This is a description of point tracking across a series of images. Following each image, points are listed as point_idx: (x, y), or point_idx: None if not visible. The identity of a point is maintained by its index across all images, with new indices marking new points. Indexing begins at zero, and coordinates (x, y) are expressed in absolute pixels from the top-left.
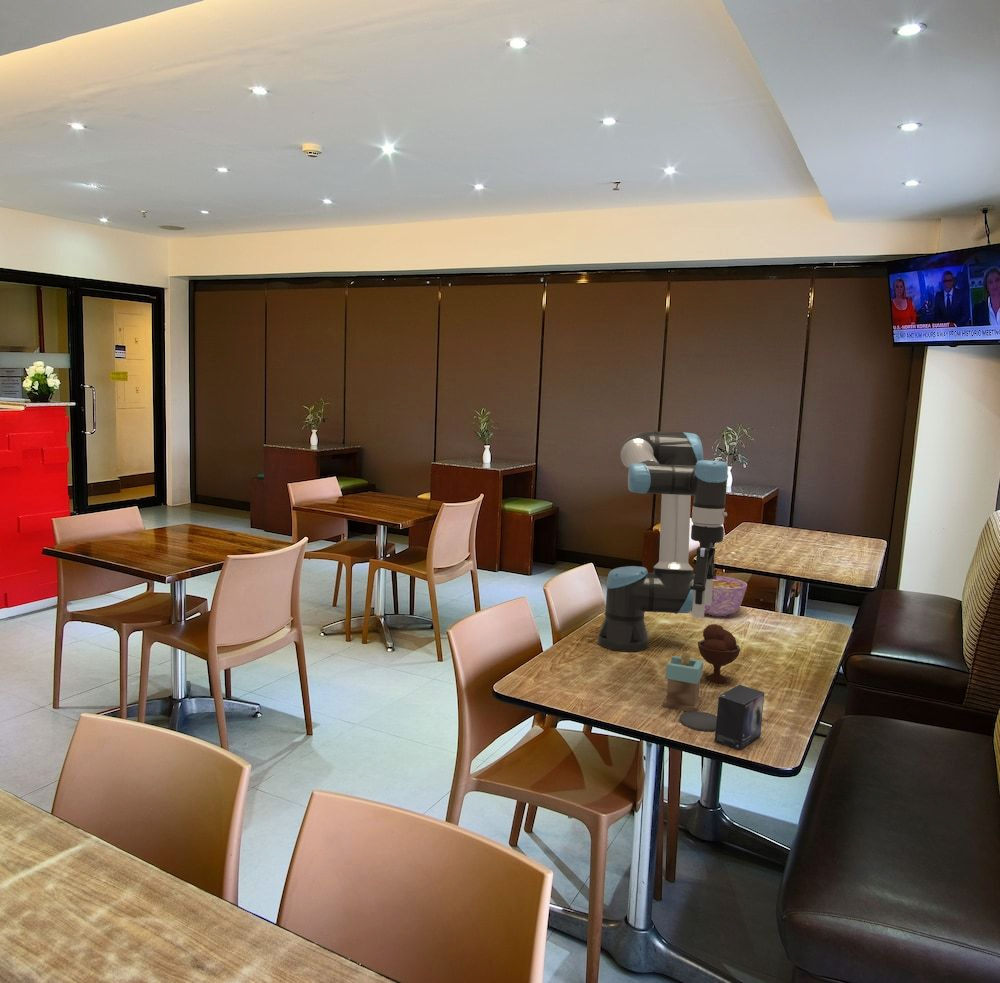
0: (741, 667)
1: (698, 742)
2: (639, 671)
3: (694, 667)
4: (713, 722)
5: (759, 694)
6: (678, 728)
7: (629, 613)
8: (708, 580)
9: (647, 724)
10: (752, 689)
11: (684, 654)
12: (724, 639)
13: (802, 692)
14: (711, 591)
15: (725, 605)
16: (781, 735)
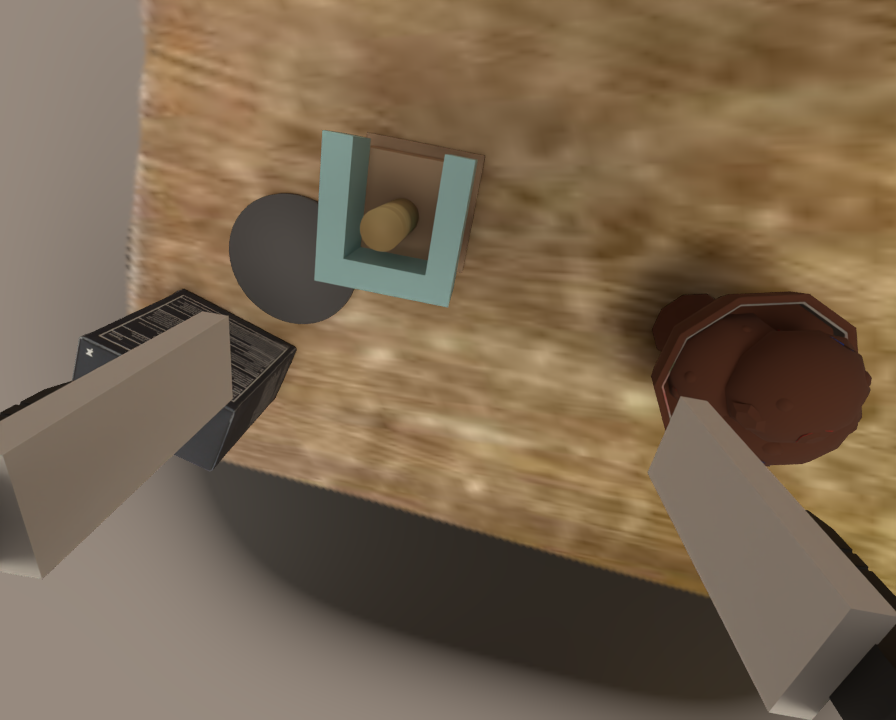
0: None
1: (155, 246)
2: (765, 3)
3: (336, 264)
4: (287, 295)
5: (179, 456)
6: (219, 190)
7: None
8: (788, 666)
9: (198, 83)
10: (208, 443)
11: (377, 224)
12: (731, 422)
13: (617, 534)
14: (701, 569)
15: None
16: (303, 443)
